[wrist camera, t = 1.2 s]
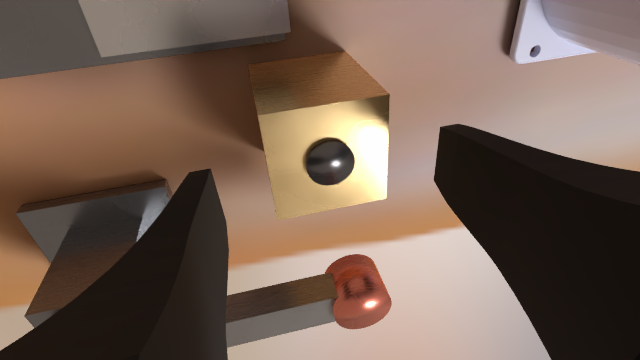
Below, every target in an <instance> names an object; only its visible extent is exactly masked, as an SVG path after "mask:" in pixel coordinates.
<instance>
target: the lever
mask: <svg viewBox="0 0 640 360" xmlns="http://www.w3.org/2000/svg"><path fill="white" fill-rule="evenodd" d="M390 308H391V298H390V296H389V294H388V292H387V290H386V287H385V285H384V283H383V281H382V279H381V277H380V274H379V272H378V270H377V268H376V266H375V264H374V262H373V260H372V259H371V258H369V257H367V256H365V255H359V254H355V255H348V256H345V257H342V258H340V259H338V260H336V261H335V262H333V263H332V264H331V265H330V266H329V267H328V269H327V270H326V272H325V274H322V275H317V276H313V277H309V278H304V279H299V280H295V281H290V282H286V283H281V284H277V285H272V286H268V287H263V288H259V289H255V290H250V291H246V292H242V293H237V294H232V295H228V296H227V301H226V342H227V347H231V346H235V345H240V344H244V343H248V342H252V341H256V340H260V339H265V338H269V337H273V336H277V335H281V334H285V333H289V332H293V331H297V330H302V329H306V328H309V327H314V326H318V325H322V324H326V323H330V322H334V321H336V322H337V323H338V324H339V325H340V326H342V327H344V328H347V329H360V328H364V327H368V326H371V325H373V324H375V323H377V322H378V321H380V320H381V319H382V318H384V317H385V316H386V314H387V313H388V312H389V310H390Z"/></svg>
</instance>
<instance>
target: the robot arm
mask: <svg viewBox="0 0 640 360" xmlns="http://www.w3.org/2000/svg"><path fill="white" fill-rule="evenodd" d="M534 46H535V48H534V51H533V52H532V53H531V54H530V51H531V49H532V48H533V47H534ZM594 52H600V53H603V54H606V55H609V56H612V57H615V58H618V59H621V60H624V61H627V62H631V63H634V64H637V65H640V0H521V2H520V7H519V12H518V17H517V21H516V26H515V31H514V35H513V40H512V45H511V49H510V58H511V60H512V61H513V62H515V63H518V64H524V63H531V62H537V61H543V60H550V59H556V58H562V57H569V56H575V55H581V54H588V53H594ZM434 181H435V183H436V185H437V187H438V188H439V190H440V192H441V194H442V196H443V197H444V199H445V200H446V202H447V204H448V205H449V206H450V208H451V209H452V210H453V212H454V213H455V214H456V215H457V217H458V218H459V219H460V220H461V222H462V223H463V224H464V225H465V227H466V228H467V229H468V230H469V231H470V233H471V234H472V235H473V236H474V238H475V239H476V240H477V241H478V242H479V244H480V245H481V246H482V247H483V249H484V250H485V251H486V252H487V254H488V255H489V256H490V258H491V259H492V260H493V262H494V263H495V264H496V266H497V267H498V269H499V270H500V272H501V273H502V275H503V277H504V278H505V280H506V281H507V283H508V284H509V286H510V287H511V289H512V291H513V292H514V294H515V296H516V297H517V299H518V301H519V302H520V304H521V306H522V307H523V309H524V311H525V312H526V314H527V316H528V317H529V319H530V321H531V323H532V324H533V326H534V328H535V330H536V332H537V334H538V336H539V337H540V339H541V341H542V342H543V345H544V346H545V348H546V350H547V352H548V354H549V356H550V358H551V360H640V172H638V171H631V170H625V169H619V168H614V167H608V166H603V165H598V164H594V163H589V162H585V161H581V160H576V159H572V158H568V157H564V156H561V155H557V154H554V153H550V152H547V151H543V150H540V149H537V148H533V147H530V146H527V145H524V144H521V143H518V142H515V141H512V140H509V139H506V138H503V137H500V136H497V135H494V134H491V133H489V132H486V131H482V130H479V129H476V128H473V127H469V126H466V125H461V124H455V125H449V126H443V127H440V133H439V142H438V150H437V158H436V167H435V175H434ZM228 255H229V248H228V236H227V226H226V220H225V216H224V213H223V209H222V206H221V203H220V199H219V196H218V192H217V189H216V185H215V182H214V179H213V175H212V172H211V169H205V170H199V171H194V172H189V173H188V175H187V176H186V178H185V179H184V180H183V182H182V183H181V185H180V186H179V188H178V189H177V191H176V192H175V193H174V195H173V196H172V198H171V199H170V201H169V202H168V203H167V205H166V206H165V207H164V209H163V210H162V212H161V213H160V214H159V216H158V217H157V218H156V219H155V221H154V222H153V223H152V224H151V225H150V227H149V228H148V229H147V230H146V232H145V233H144V234H143V235H142V236H141V238H140V239H139V240H138V241H137V242H136V243H135V244H134V245H133V246H132V247H131V248H130V249H129V250H128V251H127V252H126V253H125V254H124V255H123V256H122V257H121V258H120V259H119V260H118V261H117V262H116V263H115V264H114V265H113V266H112V267H111V268H110V269H109V270H108V271H107V272H105V273H104V274H103V275H102V276H101V277H100V278H98V279H97V280H96V281H95V282H94V283H93V284H91V285H90V286H89V287H88V288H87V289H86V290H84V291H83V292H82V293H81V294H80V295H79V296H77V297H76V298H75V299H73V300H72V301H71V302H70V303H68V304H67V305H66V306H64V307H63V308H62V309H60V310H59V311H58V312H56V313H55V314H54V315H52V316H51V317H50V318H48V319H47V320H45V321H44V322H43V323H41V324H40V325H38V326H37V327H36V328H34V329H33V330H31V331H30V332H28V333H27V334H25V335H24V336H23V337H21V338H19V339H18V340H16V341H15V342H13V343H12V344H10V345H9V346H7V347H5V348H4V349H2V350H1V351H0V360H228V358H227V342H226V301H227V280H228Z"/></svg>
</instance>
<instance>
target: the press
mask: <svg viewBox="0 0 640 360" xmlns="http://www.w3.org/2000/svg"><path fill="white" fill-rule="evenodd" d="M288 32H291V28H290V20H289V11H288V2H287V0H0V79H4V78H11V77H19V76H26V75H33V74H41V73H48V72H55V71H63V70H70V69H78V68H85V67H92V66H100V65H107V64H114V63H122V62H129V61H136V60H144V59H151V58H159V57H166V56H173V55H181V54H188V53H195V52H203V51H210V50H217V49H225V48H232V47H240V46H247V45H254V44H262V43H269V42H276V41H284V40H286V39H285V33H288ZM172 196H173V195H172V193H171V190H170V187H169V185H168V182H167V179H165V180H159V181H154V182H148V183H143V184H137V185H132V186H126V187H120V188H115V189H109V190H104V191H98V192H92V193H87V194H81V195H76V196H70V197H64V198H59V199H53V200H48V201H42V202H36V203H31V204H25V205H22V206H21V207H20V208H19V210H18V211H17V212H16V215H17V217H18V218H19V219H20V221H21V222H22V224H23V225H24V226H25V228H26V229H27V231H28V232H29V233H30V235H31V236H32V238H33V239H34V240H35V242H36V243H37V245H38V246H39V248H40V249H41V250H42V252H43V253H44V255H45V256H46V257H47V259H48V260H49V262H50V263H51V265H50V267H49V269H48V271H47V273H46V275H45V277H44V279H43V281H42V283H41V284H40V286H39V288H38V290H37V292H36V294H35V296H34V298H33V300H32V302H31V304H30V306H29V308H28V310H27V312H26V314H25V317H26V319H27V320H28V321H29V322H30V323H31V324H32V325H33V327H34V328H36V327H37V326H38V325H40V324H41V323H43V322H44V321H45V320H47V319H48V318H50V317H51V316H52V315H54V314H55V313H56V312H58V311H59V310H60V309H62V308H63V307H64V306H66V305H67V304H68V303H70V302H71V301H72V300H73V299H75V298H76V297H77V296H79V295H80V294H81V293H82V292H83V291H84V290H86V289H87V288H88V287H89V286H90V285H91V284H93V283H94V282H95V281H96V280H97V279H98V278H100V277H101V276H102V275H103V274H104V273H105V272H107V271H108V270H109V269H110V268H111V267H112V266H113V265H114V264H115V263H116V262H117V261H118V260H119V259H120V258H121V257H122V256H123V255H124V254H125V253H126V252H127V251H128V250H129V249H130V248H131V247H132V246H133V245H134V244H135V243H136V242H137V241H138V240H139V239H140V238H141V236H142V235H143V234H144V233H145V232H146V230H147V229H148V228H149V227H150V225H151V224H152V223H153V222H154V221H155V219H156V218H157V217H158V216H159V214H160V213H161V212H162V210H163V209H164V207H165V206H166V205H167V203H168V202H169V201H170V199H171V198H172Z"/></svg>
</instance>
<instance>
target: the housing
mask: <svg viewBox="0 0 640 360" xmlns="http://www.w3.org/2000/svg"><path fill="white" fill-rule="evenodd" d="M248 68H249V73H250V79H251V84H252V89H253V95H254V100H255V105H256V111H257V116H258V121H259V126H260V132H261V137H262V142H263V148H264V153H265V158H266V163H267V168H268V174H269V179H270V184H271V189H272V194H273V199H274V204H275V209H276V214H277V220H282V219H287V218H292V217H297V216H302V215H307V214H312V213H316V212H321V211H326V210H331V209H336V208H341V207H346V206H351V205H356V204H361V203H366V202H371V201H376V200H381V199H386V189H387V158H388V127H389V96H390V94H389V93H388V92H387V91H386V90H385V89H384V88H383V87H382V86H381V85H380V84H379V83H378V82H377V81H375V80H374V79H373V78H372V77H371V76H370V75H369V74H368V73H367V72H366V71H365V70H364V69H363V68H362V67H361V66H360V65H359V64H358V63H357V62H356V61H355V60H354V59H353V58H352V57H351V56H350V55H349V54H348V53H347V52H346V51H342V52H335V53H328V54H321V55H314V56H307V57H300V58H293V59H286V60H279V61H272V62H265V63H258V64H251V65H248Z"/></svg>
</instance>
